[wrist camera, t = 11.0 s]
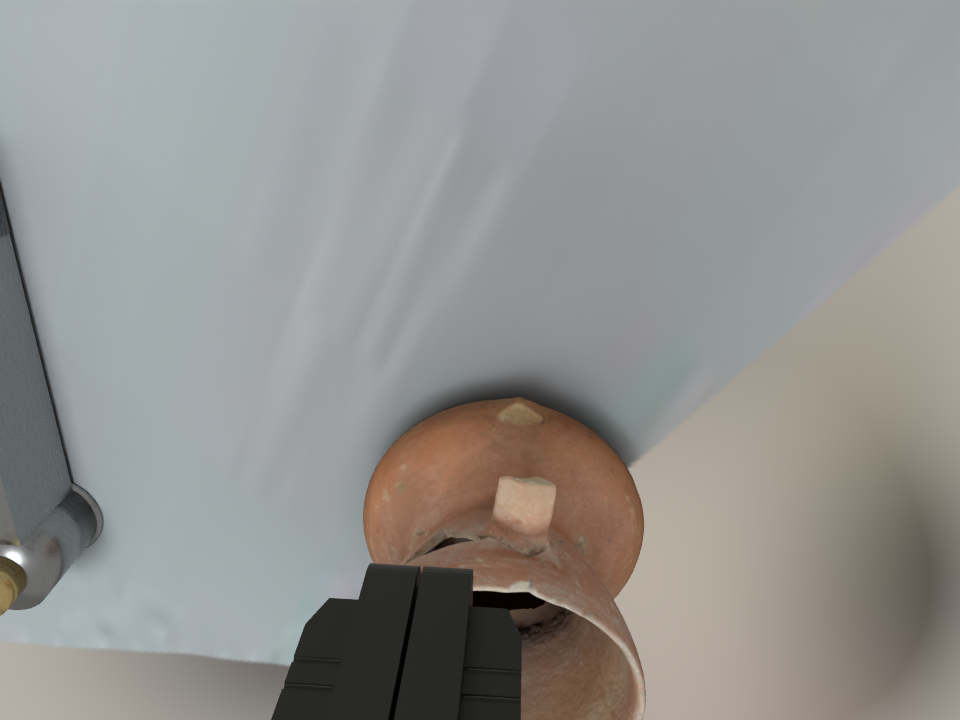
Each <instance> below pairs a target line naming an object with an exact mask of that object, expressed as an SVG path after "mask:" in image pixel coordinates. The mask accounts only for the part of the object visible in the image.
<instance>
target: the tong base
mask: <svg viewBox="0 0 960 720" xmlns="http://www.w3.org/2000/svg"><path fill="white" fill-rule="evenodd" d="M71 485H72V489H73V491H75V492H76V493H78V494H79V495H80V496H82V497H83V498H84V499H85V500H86V501H87V502H88V504H89V505H90V506H91V508H92V509H93V511H94V513H95V516H96V520H97V531H96V534H95V536H94V538H93V539H92V540H91V542H90V543H89V544H88V545H87V547H88V546H90V545H92V544H93V543H94V542H95V541H96V540H97V538H98V537H99V536H100V534H101V531H102V528H103V517H102V513H101V510H100V508H99V506H98V505H97V503H96V501H95V500H94V499H93V498H92V497H91V496H90V494H89V493H87V492H86V491H85V490H84V489H82V488H81V487H80V486H78V485H76V484H74V483H72V482H71ZM87 547H86V548H87ZM26 586H27V578H26V575H25V573H24V572H23V570H22V569H21V568H20V567H19V566H18V565H17V564H15V563H14V562H12V561H10V560H8V559H6V558H3V557H0V615H2V614H4V613H5V612H6V611H7V609H8V608H9V607H10V606H11V605H12V604H13V602H14V601H15V600H16V599H17V598H18V597H19V595H20V594H21V593H22V592H23V591H24V589H25V588H26Z"/></svg>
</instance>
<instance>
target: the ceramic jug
mask: <svg viewBox="0 0 960 720" xmlns="http://www.w3.org/2000/svg"><path fill="white" fill-rule="evenodd" d="M363 522H364V533H365V538H366V542H367V546H368V550H369V553H370V555H371V558H372V561H373V563H375V564H392V565H409V566H420V568H421V574H422V569H423V567H424V566H430V567H447V568H464V569H473V607H487V608H503V609H508V611H509V613H510V615H511V617H512V619H513V621H514V623H515V625H516V627H517V629H518V631H519V633H520V635H521V637H522V671H521V720H643V715H644V712H645V703H646V691H645V681H644V675H643V670H642V666H641V663H640V659H639V656H638V653H637V650H636V647H635V644H634V641H633V639H632V636H631V634H630V632H629V629H628V627H627V625H626V623H625V621H624V618H623V616H622V615H621V613H620V611H619V609H618V607H617V606H616V604H615V602H614V598H615V597H616V596H617V595H618V594H619V592H620V591H621V590H622V589H623V587H624V586H625V584H626V583H627V581H628V580H629V578H630V576H631V574H632V572H633V570H634V568H635V565H636V563H637V560H638V557H639V554H640V550H641V546H642V541H643V532H644V517H643V510H642V504H641V500H640V497H639V494H638V492H637V489H636V486H635V483H634V480H633V478H632V476H631V474H630V472H629V471H628V469H627V467H626V465H625V464H624V462H623V461H622V460H621V458H620V457H619V456H618V455H617V453H616V452H615V451H614V450H613V449H612V448H611V447H610V445H609V444H608V443H607V442H606V441H605V440H603V439H602V438H601V437H600V436H599V435H598V434H597V433H595V432H594V431H593V430H591V429H590V428H588V427H587V426H585V425H584V424H582V423H580V422H579V421H577V420H575V419H573V418H571V417H569V416H567V415H565V414H563V413H561V412H558V411H555V410H553V409H550V408H548V407H544V406H541V405H538V404H537V403H535V402H533V401H529V400H526V399H524V398H522V397H516V398H507V399H506V398H505V399H497V400H484V401H478V402H472V403H466V404H463V405H459V406H455V407H452V408H449V409H446V410H444V411H441V412H439V413H437V414H435V415H432V416H430V417H428V418H427V419H425V420H423V421H422V422H420V423H418V424H417V425H415V426H414V427H412V428H411V429H410V430H408V431H407V432H406V433H405V434H403V435H402V436H401V437H400V438H399V439H398V440H397V441H396V442H395V443H394V444H393V445H392V446H391V447H390V448H389V449H388V451H387V452H386V453H385V455H384V456H383V457H382V459H381V460H380V462H379V464H378V465H377V467H376V469H375V471H374V473H373V475H372V477H371V479H370V482H369V485H368V489H367V492H366V496H365V502H364V511H363Z"/></svg>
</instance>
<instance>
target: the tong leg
mask: <svg viewBox="0 0 960 720" xmlns="http://www.w3.org/2000/svg"><path fill="white" fill-rule="evenodd" d="M10 233H11V232H10V228H9V224H8V220H7V216H6V212H5V207H4V203H3V199H2V195H1V191H0V557H3V558H6V559H8V560H10V561H12V562H14V563H15V564H17V565H18V566H19V567H20V568H21V569H22V570H23V572H24V573H25V575H26V578H27V586H26V588H25V589H24V591H23V592H22V593H21V594H20V595H19V597H18V598H17V599H16V600H15V601H14V602H13V604H12V605H11V606H10V607H9V608H8V609H11V610H23V609H29V608H32V607H35V606H36V605H38V604H40V603H41V602H42V601H43V600H44V599H45V598H46V596H47V595H48V594H49V593H50V591H51V590H52V589H53V588H54V586H55V585H56V584H57V583H58V581H59V580H60V579H61V578H62V576H63V575H64V574H65V573H66V571H67V570H68V569H69V568H70V567H71V565H72V564H73V563H74V562H75V560H76V559H77V558H78V557H79V555H80V554H81V553H82V552H83V550H84V549H85V548H86V547H87V545H88V544H89V543H90V542H91V540H92V539H93V538H94V536H95V534H96V531H97V520H96V516H95V513H94V511H93V509H92V508H91V506H90V505H89V504H88V502H87V501H86V500H85V499H84V498H83V497H82V496H80V495H79V494H78V493H76V492H75V491H73V489H72V485H71V481H70V477H69V473H68V469H67V465H66V461H65V457H64V453H63V448H62V444H61V440H60V436H59V432H58V428H57V424H56V420H55V416H54V412H53V408H52V404H51V400H50V396H49V392H48V388H47V384H46V380H45V375H44V371H43V367H42V363H41V359H40V355H39V351H38V347H37V343H36V339H35V335H34V331H33V327H32V323H31V319H30V315H29V311H28V306H27V302H26V298H25V294H24V290H23V286H22V282H21V278H20V274H19V270H18V266H17V262H16V258H15V254H14V250H13V246H12V242H11V238H10Z"/></svg>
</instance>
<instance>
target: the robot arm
mask: <svg viewBox="0 0 960 720" xmlns="http://www.w3.org/2000/svg"><path fill="white" fill-rule="evenodd" d="M521 671H522V637H521V635H520V633H519V631H518V629H517V627H516V625H515V623H514V621H513V619H512V617H511V615H510V613H509V611H508V609H503V608H487V607H473V569H464V568H447V567H430V566H424V567H423V569H422V574H421V568H420V566H409V565H392V564H375V563H371V564H369V566H368V568H367V571H366V575H365V578H364V582H363V585H362V589H361V592H360V596H359V599H358V600H352V599H336V598H329V599H328V600H327V601H326V602H325V604H324V605H323V606H322V607H321V608H320V609H319V610H318V611H317V612H316V613H315V614H314V615H313V617H312V618H311V619H310V620H309V621H308V622H307V623H306V624H305V627H304V629H303V632H302V635H301V638H300V641H299V643H298V646H297V649H296V652H295V655H294V661H293V662H292V663H291V666H290V669H289V671H288V674H287V677H286V680H285V686H284V689H282V691H281V694H280V697H279V699H278V702H277V705H276V708H275V711H274V714H273V716H272V719H271V720H521Z"/></svg>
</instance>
